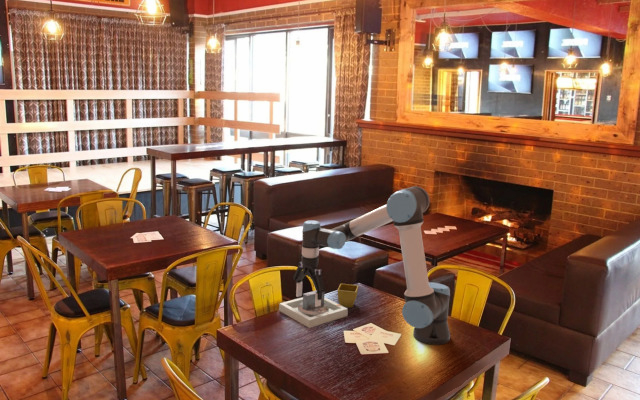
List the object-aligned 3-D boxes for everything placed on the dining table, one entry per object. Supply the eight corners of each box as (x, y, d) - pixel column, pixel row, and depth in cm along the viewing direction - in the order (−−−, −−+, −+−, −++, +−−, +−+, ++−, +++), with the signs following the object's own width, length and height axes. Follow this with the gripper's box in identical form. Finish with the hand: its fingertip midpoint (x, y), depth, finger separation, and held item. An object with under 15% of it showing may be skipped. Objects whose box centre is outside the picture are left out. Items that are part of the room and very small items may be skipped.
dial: (335, 311, 256) (335, 294, 254) (310, 319, 247) (311, 300, 245) (315, 301, 266) (316, 284, 265) (291, 308, 258) (292, 290, 256)
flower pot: (354, 310, 263) (356, 291, 261) (336, 308, 264) (337, 289, 262) (357, 303, 271) (358, 285, 269) (339, 301, 273) (340, 283, 271)
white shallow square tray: (347, 315, 256) (347, 308, 255) (309, 327, 242) (309, 319, 241) (316, 300, 272) (316, 293, 272) (279, 310, 258) (279, 302, 258)
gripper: (335, 261, 242) (332, 308, 247) (299, 247, 261) (298, 290, 266) (321, 264, 238) (319, 312, 242) (286, 249, 256) (285, 293, 261)
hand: (308, 301), depth 254 cm, fingers open, 13 cm apart
